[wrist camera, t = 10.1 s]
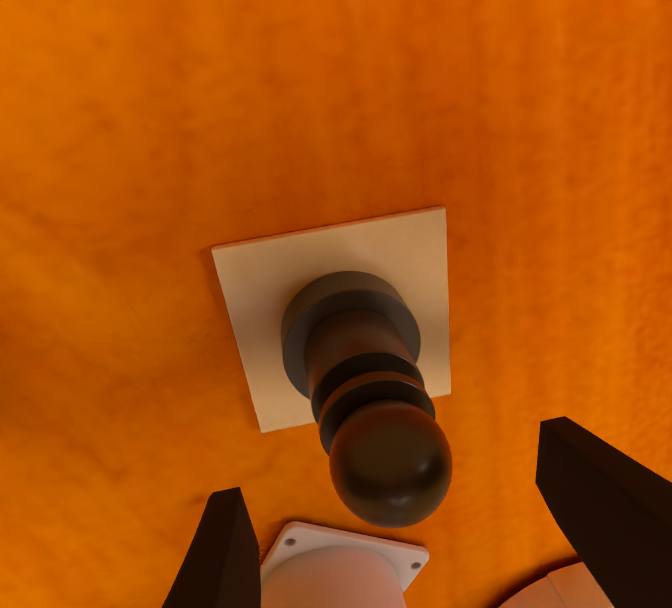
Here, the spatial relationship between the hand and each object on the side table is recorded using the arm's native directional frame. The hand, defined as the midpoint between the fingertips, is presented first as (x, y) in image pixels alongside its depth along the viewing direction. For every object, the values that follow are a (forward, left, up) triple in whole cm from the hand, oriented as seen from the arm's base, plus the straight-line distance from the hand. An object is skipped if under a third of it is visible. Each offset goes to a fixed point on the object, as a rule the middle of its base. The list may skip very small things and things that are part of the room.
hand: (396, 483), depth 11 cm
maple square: (0, 0, -8) cm, 8 cm away
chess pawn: (0, 0, -7) cm, 7 cm away
